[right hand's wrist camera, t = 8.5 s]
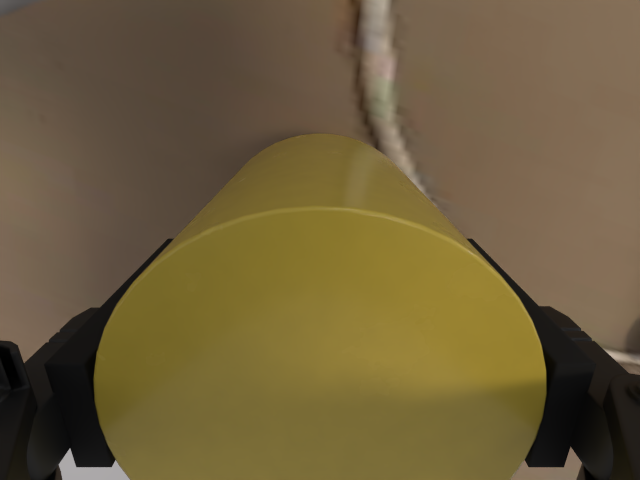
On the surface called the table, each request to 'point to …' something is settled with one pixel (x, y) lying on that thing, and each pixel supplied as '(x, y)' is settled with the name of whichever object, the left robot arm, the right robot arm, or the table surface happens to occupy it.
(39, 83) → the table surface
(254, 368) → the canister
